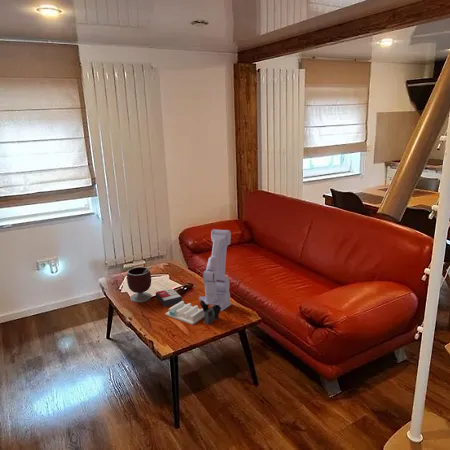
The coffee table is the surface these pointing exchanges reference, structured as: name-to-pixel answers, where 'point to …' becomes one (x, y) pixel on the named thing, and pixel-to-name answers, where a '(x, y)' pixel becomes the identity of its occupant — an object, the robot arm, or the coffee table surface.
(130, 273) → the mate gourd
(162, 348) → the coffee table surface
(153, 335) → the coffee table surface
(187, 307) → the rack
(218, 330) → the coffee table surface
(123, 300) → the coffee table surface
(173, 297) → the calculator
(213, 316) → the panel
